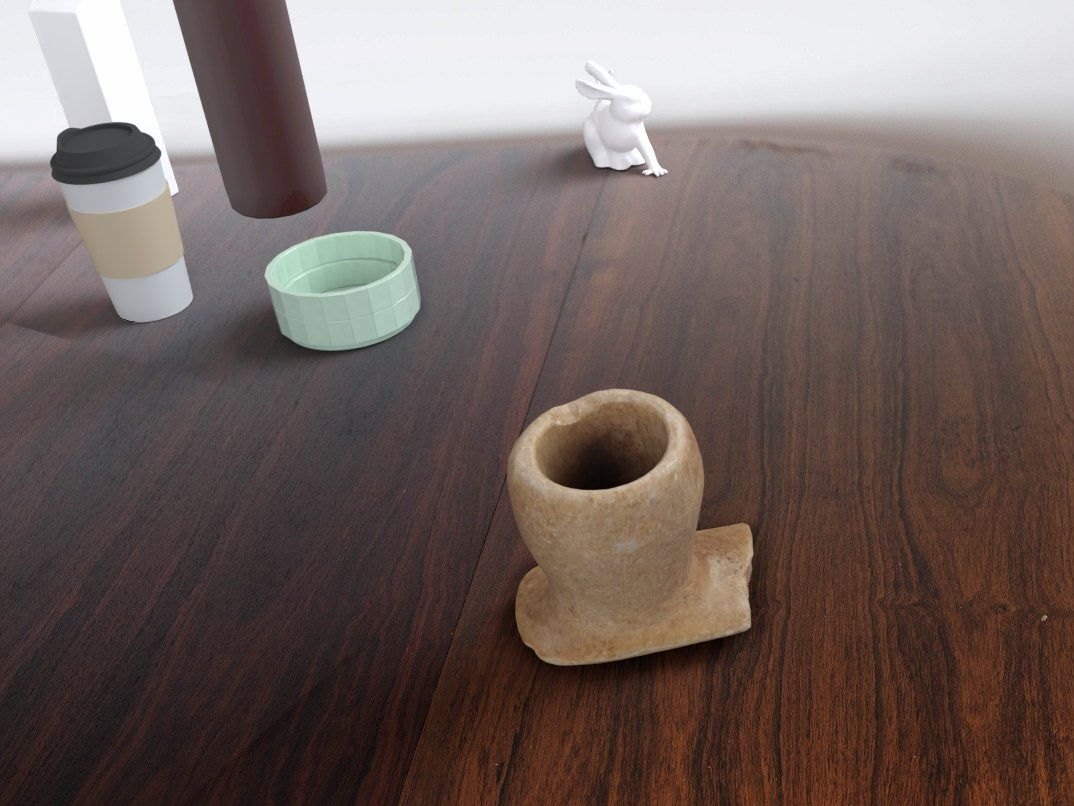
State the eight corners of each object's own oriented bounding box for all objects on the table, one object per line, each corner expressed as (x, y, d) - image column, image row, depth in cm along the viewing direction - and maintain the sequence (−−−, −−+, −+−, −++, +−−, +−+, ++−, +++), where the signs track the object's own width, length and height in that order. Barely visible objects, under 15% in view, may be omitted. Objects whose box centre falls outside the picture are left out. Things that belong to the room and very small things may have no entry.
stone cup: (530, 713, 73) (493, 491, 63) (511, 587, 82) (475, 373, 72) (792, 671, 74) (797, 444, 64) (746, 550, 83) (743, 333, 72)
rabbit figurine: (669, 175, 128) (664, 71, 121) (597, 191, 126) (588, 87, 120) (626, 137, 136) (620, 37, 129) (559, 151, 135) (548, 51, 128)
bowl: (250, 336, 110) (234, 280, 107) (344, 276, 117) (331, 222, 114) (359, 365, 105) (345, 307, 101) (450, 300, 112) (440, 244, 108)
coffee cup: (223, 283, 118) (171, 112, 108) (174, 330, 112) (114, 154, 102) (137, 279, 120) (78, 111, 110) (85, 325, 114) (17, 152, 104)
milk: (135, 187, 138) (57, -47, 122) (180, 192, 135) (107, -46, 120) (97, 210, 134) (12, -29, 118) (143, 216, 131) (63, -27, 116)
